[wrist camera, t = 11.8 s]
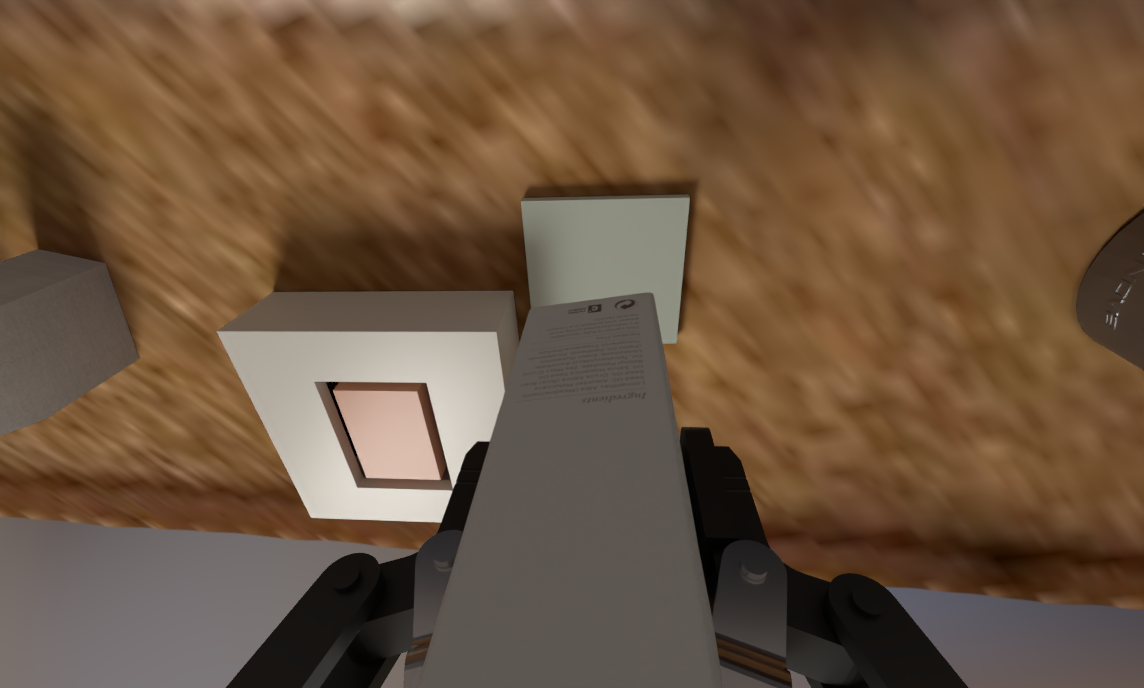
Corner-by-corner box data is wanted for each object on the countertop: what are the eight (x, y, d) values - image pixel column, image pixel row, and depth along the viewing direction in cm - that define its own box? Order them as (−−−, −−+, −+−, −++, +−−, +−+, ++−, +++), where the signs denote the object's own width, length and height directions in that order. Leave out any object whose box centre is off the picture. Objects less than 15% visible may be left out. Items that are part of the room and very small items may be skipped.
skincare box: (525, 304, 16) (372, 776, 5) (654, 287, 15) (753, 782, 5) (560, 438, 19) (504, 897, 9) (668, 428, 18) (746, 911, 8)
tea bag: (105, 262, 27) (-132, 360, 18) (139, 358, 30) (-45, 477, 22) (38, 248, 26) (-232, 340, 18) (81, 346, 30) (-128, 461, 22)
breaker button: (439, 352, 28) (417, 391, 24) (458, 435, 31) (440, 479, 28) (364, 351, 28) (332, 390, 25) (391, 434, 31) (366, 477, 28)
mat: (688, 194, 22) (689, 197, 22) (675, 338, 26) (676, 343, 26) (522, 198, 23) (520, 201, 22) (535, 337, 27) (534, 342, 27)
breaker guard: (513, 290, 26) (496, 331, 22) (534, 470, 33) (524, 525, 29) (272, 291, 27) (216, 331, 23) (344, 465, 34) (311, 517, 30)
